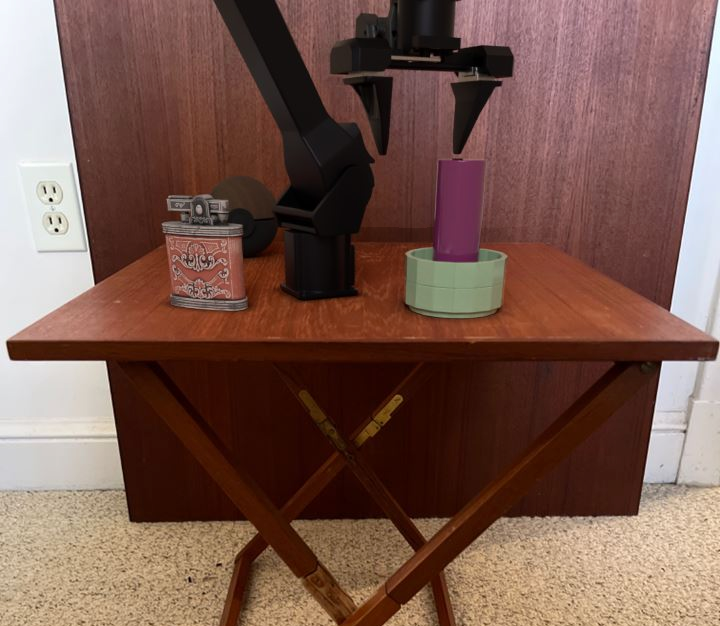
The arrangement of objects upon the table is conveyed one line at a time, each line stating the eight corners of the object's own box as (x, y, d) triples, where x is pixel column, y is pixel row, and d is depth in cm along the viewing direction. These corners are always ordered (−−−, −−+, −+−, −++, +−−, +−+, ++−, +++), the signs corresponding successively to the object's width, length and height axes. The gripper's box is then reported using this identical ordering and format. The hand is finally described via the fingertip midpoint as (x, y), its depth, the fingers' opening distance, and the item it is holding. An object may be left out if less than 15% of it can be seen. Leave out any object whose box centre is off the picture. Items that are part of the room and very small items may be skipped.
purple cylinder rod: (420, 301, 68) (426, 159, 62) (448, 294, 70) (456, 157, 65) (457, 309, 65) (467, 160, 59) (484, 301, 68) (496, 159, 62)
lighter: (254, 304, 69) (247, 194, 64) (238, 312, 66) (229, 197, 61) (182, 298, 71) (171, 192, 66) (164, 305, 68) (150, 194, 64)
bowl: (436, 323, 62) (440, 266, 60) (387, 302, 70) (388, 250, 67) (522, 313, 66) (528, 258, 64) (465, 294, 73) (469, 244, 71)
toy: (205, 263, 89) (197, 178, 85) (213, 251, 98) (207, 173, 93) (279, 262, 90) (275, 178, 85) (281, 250, 99) (277, 173, 94)
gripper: (462, -4, 78) (453, 151, 85) (306, -18, 71) (310, 153, 78) (525, -20, 69) (509, 154, 76) (354, -39, 62) (354, 157, 69)
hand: (420, 154), depth 75 cm, fingers open, 9 cm apart
